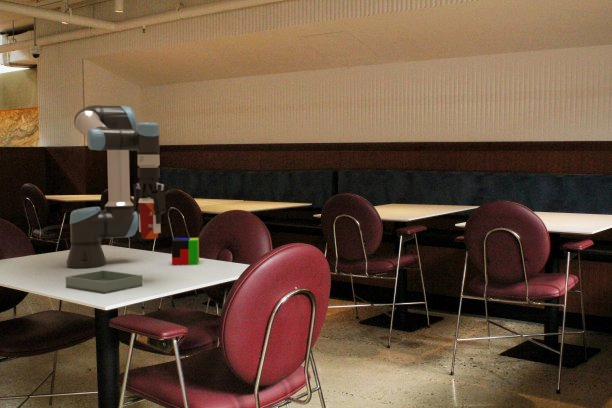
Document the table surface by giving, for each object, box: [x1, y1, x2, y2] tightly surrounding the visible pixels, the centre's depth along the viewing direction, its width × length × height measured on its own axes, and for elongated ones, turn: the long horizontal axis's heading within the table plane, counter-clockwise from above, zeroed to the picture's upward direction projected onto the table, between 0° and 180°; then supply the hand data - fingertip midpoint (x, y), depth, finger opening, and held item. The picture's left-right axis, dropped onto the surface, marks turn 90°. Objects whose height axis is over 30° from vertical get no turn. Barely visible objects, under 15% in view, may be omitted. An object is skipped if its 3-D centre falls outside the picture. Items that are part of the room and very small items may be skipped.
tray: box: [65, 270, 143, 294], centre depth 228 cm, size 20×16×4 cm
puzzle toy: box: [171, 237, 200, 266], centre depth 278 cm, size 10×10×10 cm
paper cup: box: [138, 197, 159, 240], centre depth 240 cm, size 8×8×14 cm
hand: (149, 232), depth 240 cm, fingers closed on paper cup, 6 cm apart
